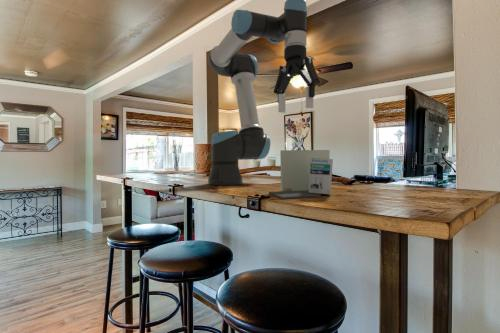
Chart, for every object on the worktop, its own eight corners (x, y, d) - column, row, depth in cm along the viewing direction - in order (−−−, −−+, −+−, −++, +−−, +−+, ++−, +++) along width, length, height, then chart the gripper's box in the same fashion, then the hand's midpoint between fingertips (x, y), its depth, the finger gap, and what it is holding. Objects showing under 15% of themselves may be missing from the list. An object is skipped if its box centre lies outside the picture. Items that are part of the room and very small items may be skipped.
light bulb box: (331, 195, 86) (333, 158, 86) (308, 193, 87) (310, 157, 87) (328, 191, 97) (330, 159, 96) (307, 190, 98) (309, 158, 98)
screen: (279, 190, 101) (279, 150, 101) (326, 188, 106) (325, 150, 105) (283, 191, 98) (283, 150, 97) (331, 189, 102) (331, 149, 101)
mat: (269, 193, 93) (269, 191, 93) (303, 192, 96) (303, 190, 96) (282, 199, 82) (282, 197, 82) (321, 197, 84) (321, 195, 84)
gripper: (264, 55, 107) (264, 113, 108) (315, 32, 87) (314, 104, 88) (279, 58, 111) (279, 114, 113) (331, 38, 91) (331, 106, 92)
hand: (294, 110), depth 100 cm, fingers open, 13 cm apart
